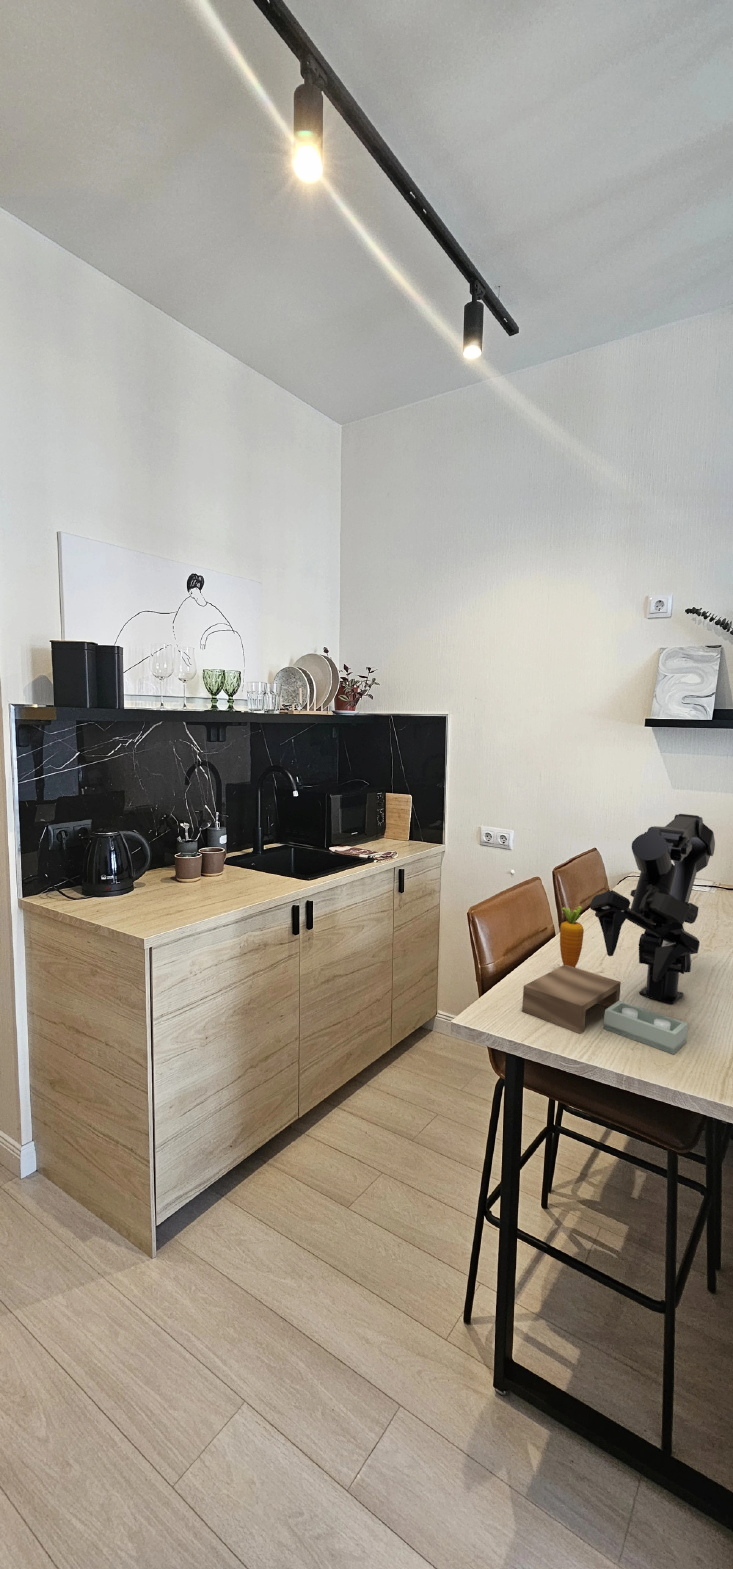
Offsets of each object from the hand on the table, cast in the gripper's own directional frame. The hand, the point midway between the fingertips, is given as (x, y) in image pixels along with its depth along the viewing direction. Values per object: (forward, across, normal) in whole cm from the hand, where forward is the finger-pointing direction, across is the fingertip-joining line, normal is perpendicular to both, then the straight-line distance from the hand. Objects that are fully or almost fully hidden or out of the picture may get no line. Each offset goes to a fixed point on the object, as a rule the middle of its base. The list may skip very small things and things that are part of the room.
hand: (632, 968), depth 113 cm
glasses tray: (+8, +9, +6) cm, 13 cm away
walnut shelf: (+6, 0, +17) cm, 18 cm away
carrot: (-4, +5, +30) cm, 31 cm away
